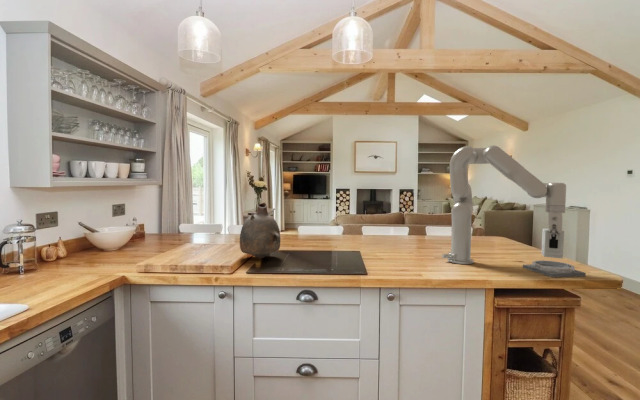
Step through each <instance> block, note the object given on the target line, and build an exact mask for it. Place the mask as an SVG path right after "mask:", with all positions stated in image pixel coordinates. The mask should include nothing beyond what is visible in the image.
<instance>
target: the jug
mask: <svg viewBox="0 0 640 400" xmlns="http://www.w3.org/2000/svg"><path fill="white" fill-rule="evenodd" d="M280 247H281V230H280V228H279V225H278V223H277V221H276V219H275V218H274V217H273V216H271V215H269V213H268V207H267V203H266V202H262V203H258V204H257V210H256V213H254V214H251V215H249V216H248V217H247V218H246V219H245V220H244V222H243V224H242V226H241V230H240V235H239V249H240V251H241V253H244V254H247V255H250V256H254V257H255V258H257V259H263V258H265V257H267V256H269V255H271V254H275V253H276V252H278V251H279V250H280Z"/></svg>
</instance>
